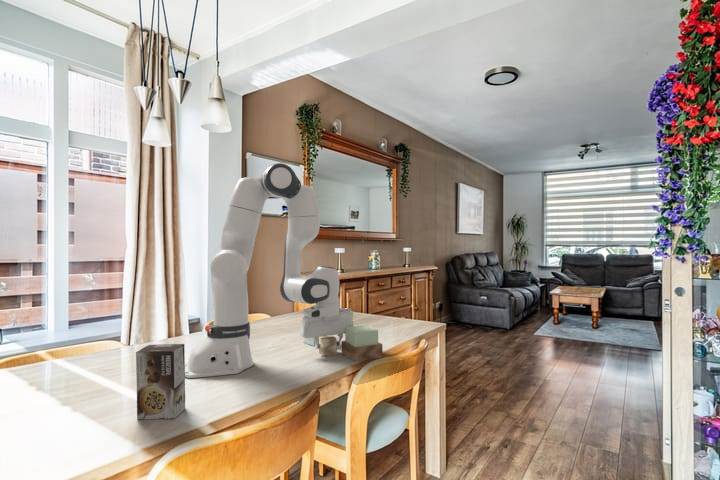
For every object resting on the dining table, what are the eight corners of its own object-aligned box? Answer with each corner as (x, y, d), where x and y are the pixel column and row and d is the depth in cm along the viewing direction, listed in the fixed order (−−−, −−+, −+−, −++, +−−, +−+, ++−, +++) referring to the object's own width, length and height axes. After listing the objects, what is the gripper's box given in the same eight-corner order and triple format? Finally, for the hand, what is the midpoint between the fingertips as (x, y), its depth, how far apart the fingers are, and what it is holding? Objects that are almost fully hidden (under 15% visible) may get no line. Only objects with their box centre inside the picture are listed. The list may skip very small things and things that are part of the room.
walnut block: (355, 362, 134) (354, 348, 134) (341, 354, 144) (341, 341, 144) (382, 358, 139) (382, 344, 139) (367, 350, 149) (367, 337, 149)
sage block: (355, 347, 136) (355, 332, 136) (345, 341, 144) (345, 327, 144) (378, 344, 139) (378, 330, 139) (367, 338, 148) (367, 325, 148)
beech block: (324, 356, 141) (324, 339, 141) (319, 352, 145) (318, 336, 146) (336, 354, 143) (336, 338, 143) (331, 351, 148) (331, 335, 148)
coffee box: (186, 407, 98) (186, 343, 98) (175, 419, 91) (174, 350, 91) (149, 408, 97) (149, 343, 97) (135, 420, 91) (135, 351, 91)
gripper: (349, 306, 152) (349, 341, 152) (298, 310, 143) (298, 348, 143) (356, 308, 146) (356, 345, 146) (304, 313, 137) (304, 353, 137)
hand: (327, 347), depth 144 cm, fingers open, 6 cm apart
